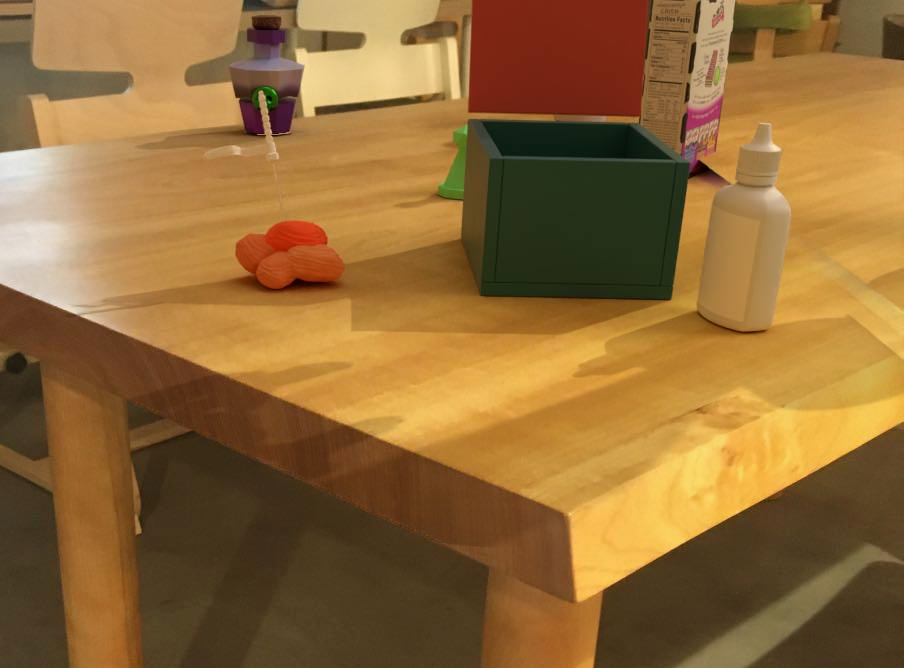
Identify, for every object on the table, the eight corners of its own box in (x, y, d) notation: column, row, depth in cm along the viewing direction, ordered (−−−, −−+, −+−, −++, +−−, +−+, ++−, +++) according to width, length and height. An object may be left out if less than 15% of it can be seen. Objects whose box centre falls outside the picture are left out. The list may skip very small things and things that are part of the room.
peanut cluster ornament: (227, 262, 89) (222, 84, 83) (356, 274, 87) (360, 92, 81) (195, 284, 83) (188, 96, 78) (331, 298, 81) (334, 105, 76)
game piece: (427, 194, 111) (431, 124, 108) (456, 187, 114) (460, 119, 111) (467, 202, 108) (471, 130, 106) (495, 194, 111) (500, 125, 109)
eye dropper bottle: (700, 331, 77) (732, 129, 71) (694, 305, 82) (722, 114, 76) (773, 336, 76) (810, 133, 71) (762, 310, 81) (796, 118, 76)
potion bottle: (241, 140, 133) (238, 18, 128) (219, 127, 140) (216, 11, 135) (317, 136, 136) (318, 18, 131) (292, 124, 143) (292, 11, 138)
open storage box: (671, 299, 83) (691, 162, 79) (480, 295, 83) (489, 157, 79) (624, 241, 97) (638, 122, 93) (460, 238, 97) (467, 118, 93)
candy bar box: (667, 160, 129) (690, -13, 121) (714, 166, 126) (741, -10, 119) (627, 177, 120) (650, -8, 112) (678, 184, 118) (704, -5, 110)
